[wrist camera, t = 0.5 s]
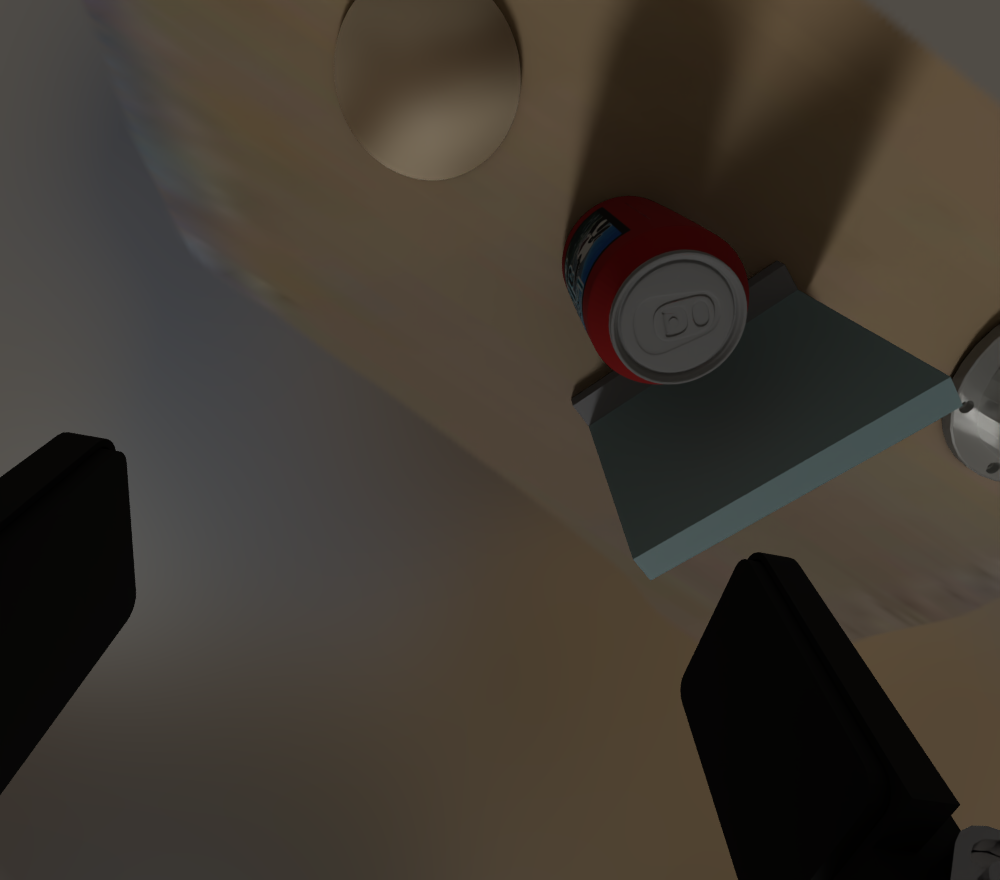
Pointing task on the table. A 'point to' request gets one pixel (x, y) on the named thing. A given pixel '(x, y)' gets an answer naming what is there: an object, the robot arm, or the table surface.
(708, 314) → the beverage can
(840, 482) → the table surface
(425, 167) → the coaster
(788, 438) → the screen
